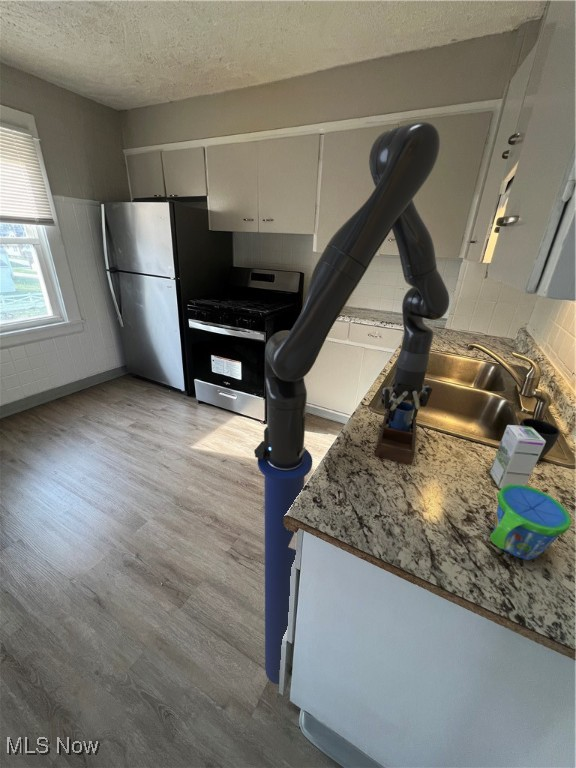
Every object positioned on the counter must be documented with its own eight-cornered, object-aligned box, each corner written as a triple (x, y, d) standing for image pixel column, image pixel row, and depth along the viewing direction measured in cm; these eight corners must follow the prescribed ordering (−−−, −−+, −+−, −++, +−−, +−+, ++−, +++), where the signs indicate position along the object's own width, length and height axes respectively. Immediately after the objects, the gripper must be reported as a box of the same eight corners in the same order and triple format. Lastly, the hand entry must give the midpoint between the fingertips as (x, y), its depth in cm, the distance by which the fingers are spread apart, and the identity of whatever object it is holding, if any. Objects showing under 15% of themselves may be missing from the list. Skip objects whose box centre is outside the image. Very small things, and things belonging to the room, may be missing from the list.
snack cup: (510, 582, 53) (532, 541, 49) (461, 531, 62) (476, 493, 58) (571, 556, 58) (596, 516, 54) (517, 512, 67) (535, 476, 63)
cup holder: (375, 456, 83) (377, 443, 82) (382, 423, 98) (385, 412, 96) (411, 465, 80) (414, 452, 79) (413, 430, 95) (416, 418, 93)
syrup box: (524, 492, 73) (548, 441, 67) (497, 488, 74) (518, 437, 67) (512, 475, 78) (534, 426, 72) (487, 472, 79) (506, 423, 72)
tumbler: (386, 435, 91) (391, 408, 87) (388, 425, 96) (393, 399, 92) (408, 440, 89) (414, 413, 85) (409, 429, 94) (415, 403, 90)
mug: (489, 443, 90) (500, 415, 86) (534, 448, 89) (547, 419, 85) (503, 462, 83) (515, 432, 79) (552, 467, 81) (567, 437, 77)
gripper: (429, 359, 88) (417, 411, 95) (380, 361, 86) (371, 413, 93) (445, 370, 81) (430, 425, 88) (392, 371, 79) (382, 427, 86)
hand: (400, 419), depth 90 cm, fingers closed on tumbler, 6 cm apart
